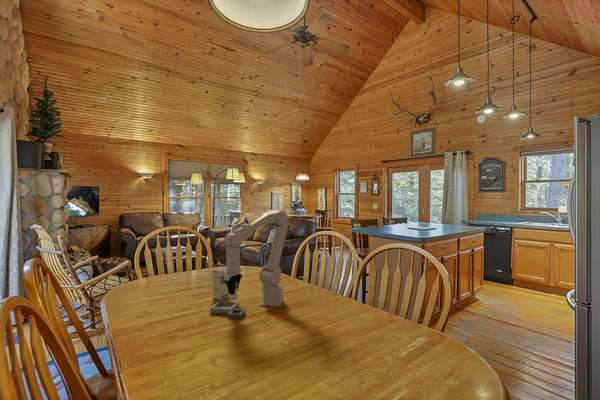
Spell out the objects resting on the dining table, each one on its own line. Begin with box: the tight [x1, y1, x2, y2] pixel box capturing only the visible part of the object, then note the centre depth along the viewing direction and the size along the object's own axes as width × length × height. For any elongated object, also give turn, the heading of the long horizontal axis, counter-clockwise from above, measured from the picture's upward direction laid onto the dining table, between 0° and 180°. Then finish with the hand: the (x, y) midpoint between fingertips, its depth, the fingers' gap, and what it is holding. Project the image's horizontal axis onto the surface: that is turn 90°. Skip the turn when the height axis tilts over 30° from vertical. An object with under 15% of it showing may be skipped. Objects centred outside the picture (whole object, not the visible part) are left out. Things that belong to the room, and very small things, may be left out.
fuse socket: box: [227, 308, 246, 320], centre depth 130 cm, size 6×6×2 cm
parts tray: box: [209, 299, 240, 316], centre depth 137 cm, size 10×10×2 cm
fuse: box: [229, 282, 238, 301], centre depth 132 cm, size 3×3×7 cm
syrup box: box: [212, 267, 230, 301], centre depth 154 cm, size 6×6×14 cm
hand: (233, 292), depth 132 cm, fingers closed on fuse, 3 cm apart
